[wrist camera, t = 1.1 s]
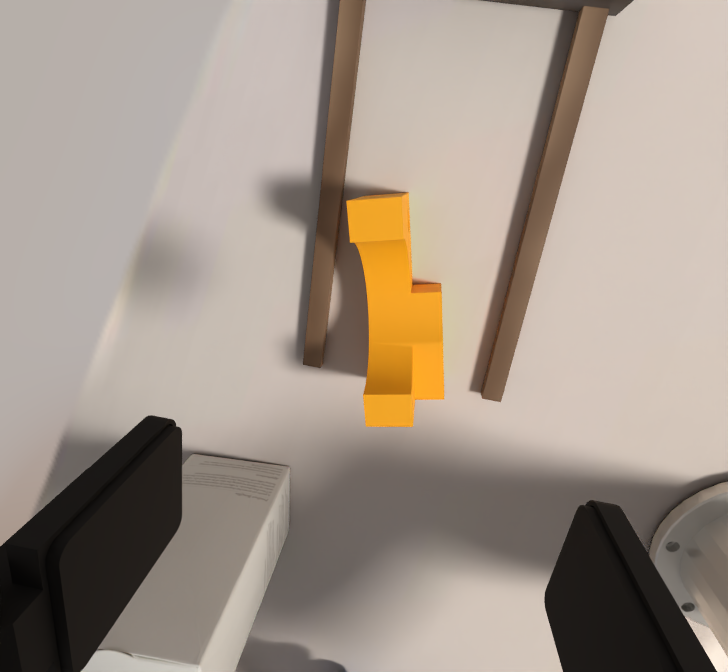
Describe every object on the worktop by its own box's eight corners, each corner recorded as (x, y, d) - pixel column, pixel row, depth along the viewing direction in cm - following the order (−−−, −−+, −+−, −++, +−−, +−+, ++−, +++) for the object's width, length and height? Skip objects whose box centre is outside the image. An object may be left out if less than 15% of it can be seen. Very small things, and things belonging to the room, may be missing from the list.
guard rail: (632, -43, 22) (667, -82, 19) (508, 398, 30) (517, 425, 27) (339, -74, 23) (323, -116, 20) (297, 358, 31) (281, 379, 28)
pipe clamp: (443, 377, 30) (445, 426, 24) (378, 378, 31) (365, 426, 25) (438, 190, 27) (440, 193, 21) (365, 195, 27) (346, 201, 21)
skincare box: (195, 515, 37) (43, 731, 23) (190, 446, 35) (19, 637, 20) (294, 531, 36) (202, 768, 22) (296, 462, 34) (195, 673, 20)
